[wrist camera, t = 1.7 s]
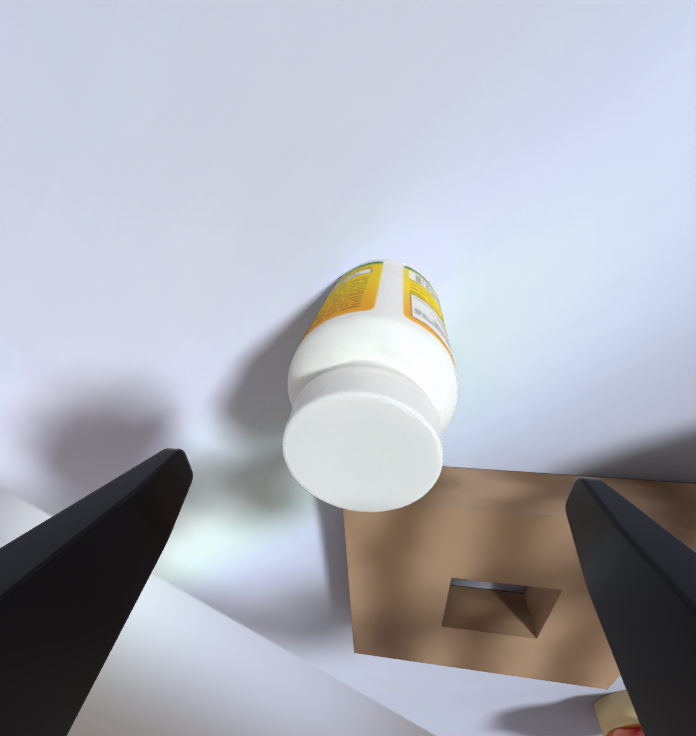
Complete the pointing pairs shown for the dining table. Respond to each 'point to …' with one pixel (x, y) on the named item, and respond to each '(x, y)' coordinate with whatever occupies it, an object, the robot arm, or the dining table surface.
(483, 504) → the socket block
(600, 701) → the cake
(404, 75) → the dining table surface
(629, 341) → the dining table surface
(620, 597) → the robot arm
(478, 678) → the dining table surface
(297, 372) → the supplement bottle
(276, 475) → the dining table surface
